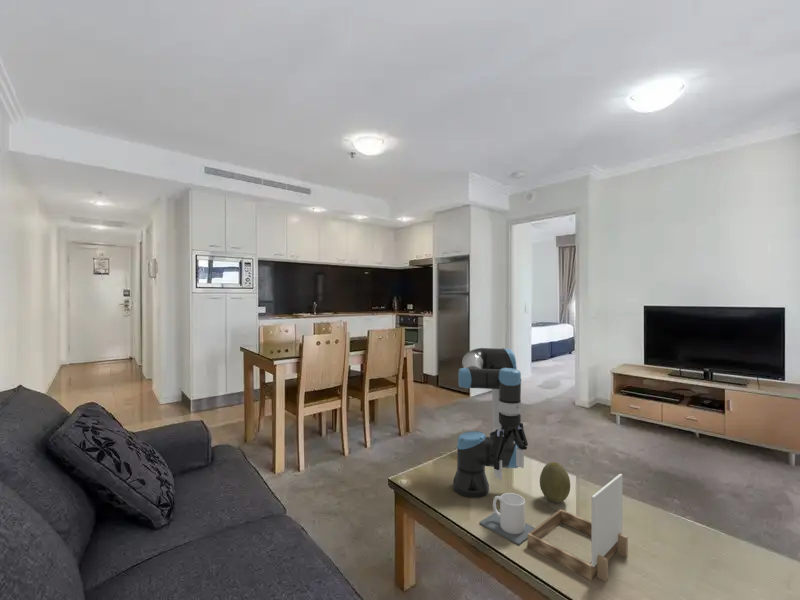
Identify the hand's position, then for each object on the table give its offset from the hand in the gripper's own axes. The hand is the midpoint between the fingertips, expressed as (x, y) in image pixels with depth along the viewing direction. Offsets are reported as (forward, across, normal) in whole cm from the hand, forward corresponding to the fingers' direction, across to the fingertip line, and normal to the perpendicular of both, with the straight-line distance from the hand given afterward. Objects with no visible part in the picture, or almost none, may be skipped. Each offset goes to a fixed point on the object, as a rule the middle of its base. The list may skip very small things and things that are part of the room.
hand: (509, 472), depth 136 cm
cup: (+19, -1, 0) cm, 19 cm away
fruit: (+19, +29, -2) cm, 35 cm away
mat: (+19, -1, -1) cm, 19 cm away
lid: (+19, +6, -32) cm, 38 cm away
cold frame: (+19, +6, -20) cm, 28 cm away
